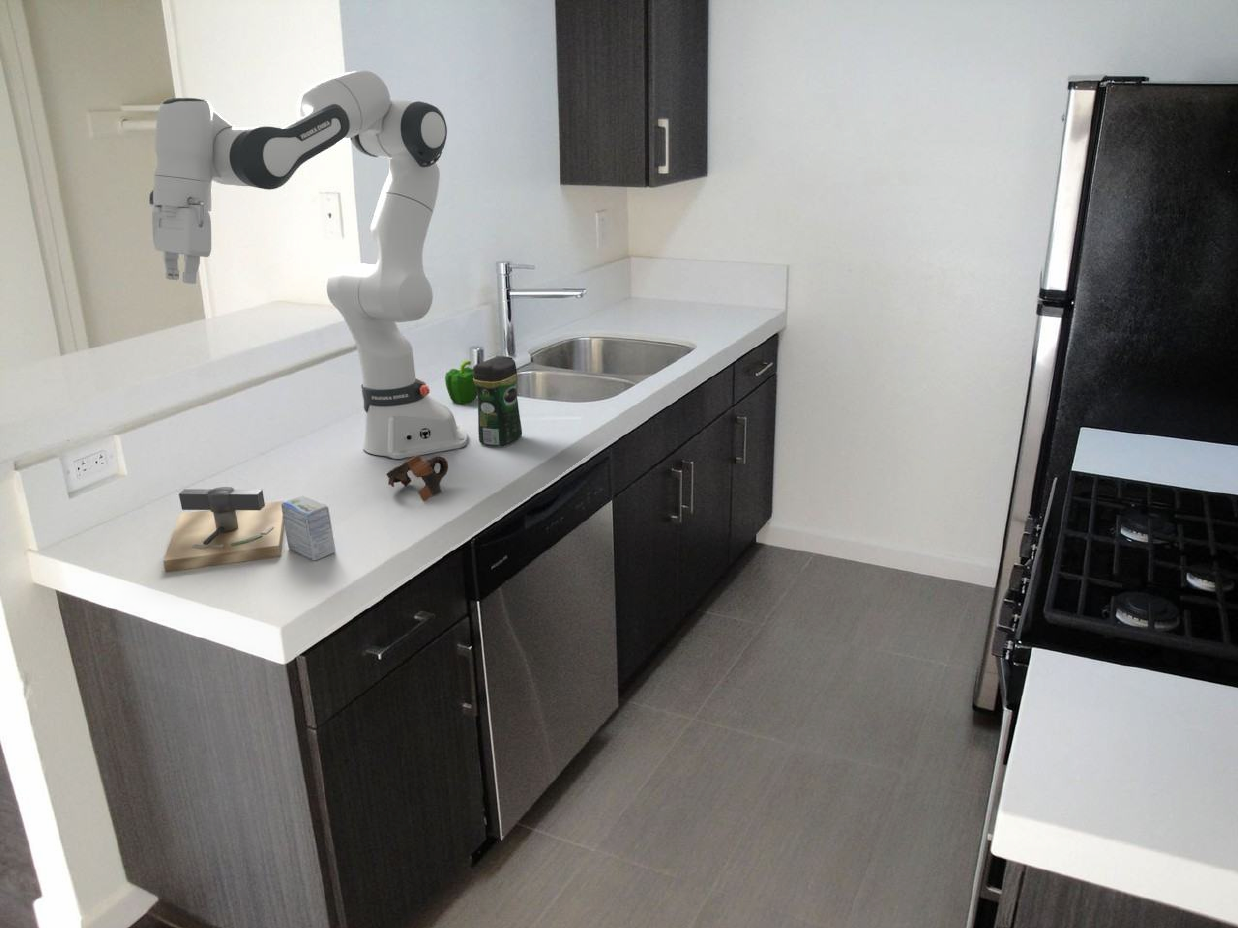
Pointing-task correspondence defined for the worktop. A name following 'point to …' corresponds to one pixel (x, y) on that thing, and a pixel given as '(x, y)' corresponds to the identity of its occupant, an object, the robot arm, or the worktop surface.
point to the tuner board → (225, 538)
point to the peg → (222, 505)
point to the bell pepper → (461, 384)
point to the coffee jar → (497, 401)
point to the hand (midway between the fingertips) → (180, 281)
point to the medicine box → (308, 527)
